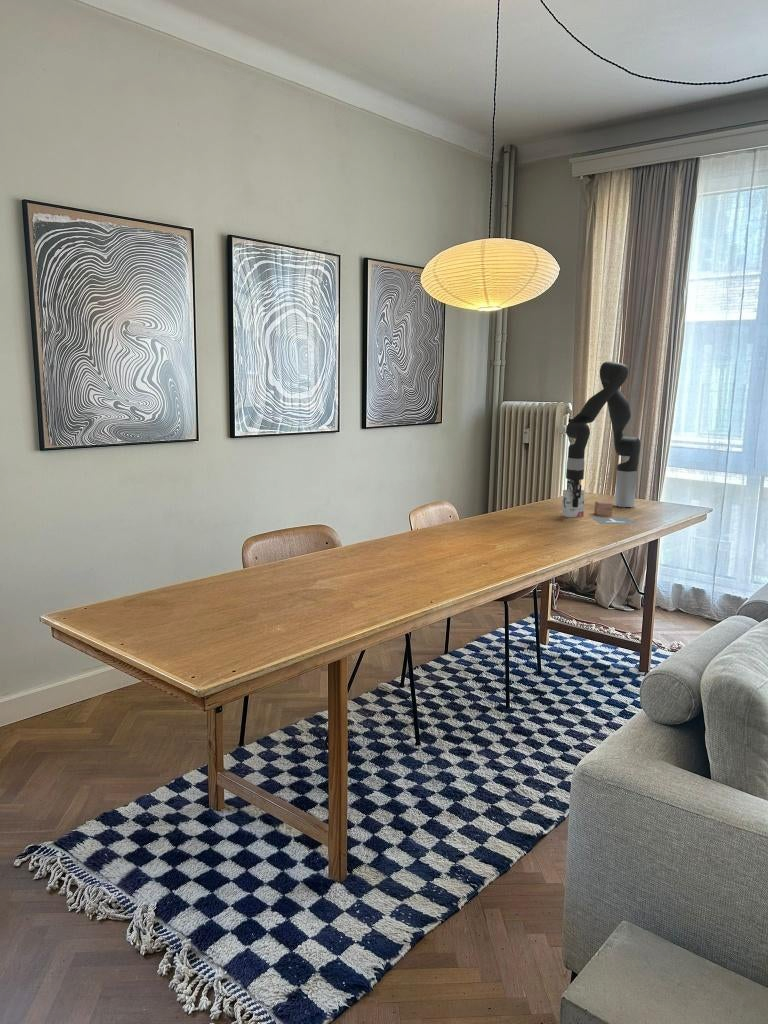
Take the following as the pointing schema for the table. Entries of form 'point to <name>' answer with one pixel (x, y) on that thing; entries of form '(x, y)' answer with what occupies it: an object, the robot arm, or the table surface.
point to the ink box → (568, 504)
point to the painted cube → (603, 508)
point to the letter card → (613, 520)
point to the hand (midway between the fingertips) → (572, 505)
